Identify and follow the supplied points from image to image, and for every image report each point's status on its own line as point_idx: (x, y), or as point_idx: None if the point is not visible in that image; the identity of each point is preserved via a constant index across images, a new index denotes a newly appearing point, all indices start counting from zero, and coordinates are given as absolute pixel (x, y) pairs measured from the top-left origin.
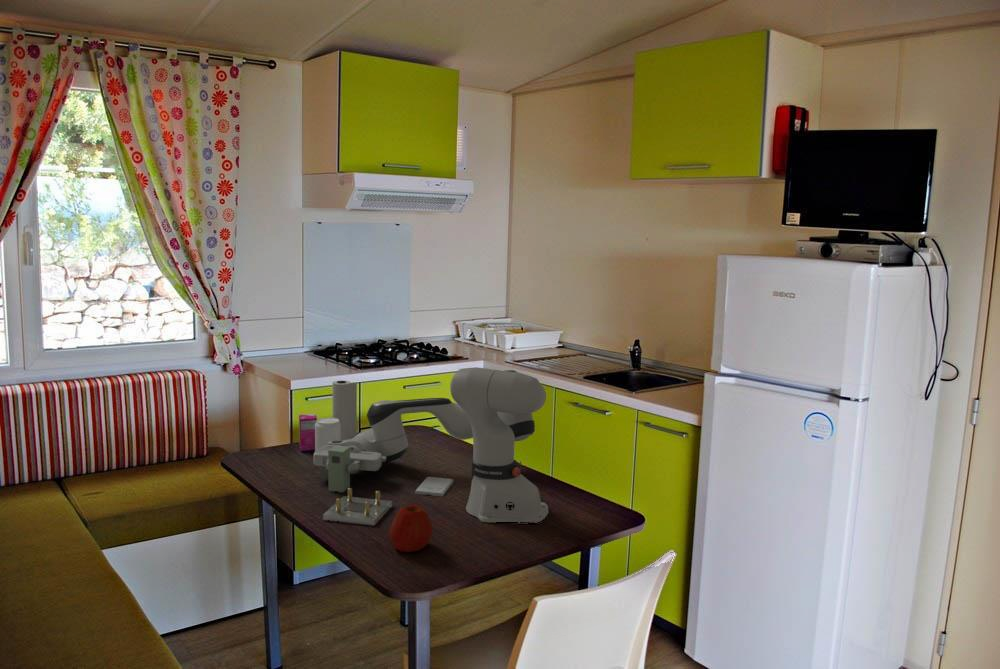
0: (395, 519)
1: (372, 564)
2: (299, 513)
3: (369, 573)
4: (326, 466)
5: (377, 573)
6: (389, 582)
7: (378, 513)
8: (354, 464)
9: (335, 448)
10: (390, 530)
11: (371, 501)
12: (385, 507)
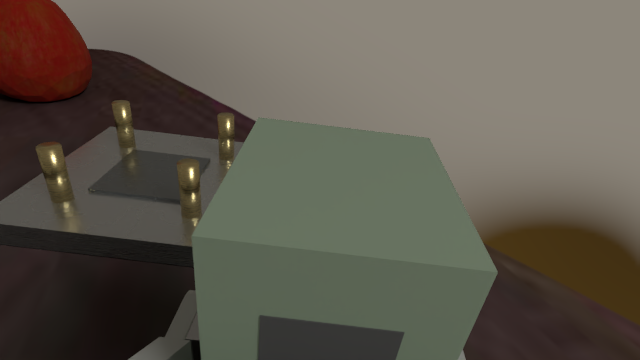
0: (71, 22)
1: (142, 74)
2: None
3: (150, 66)
4: None
5: (137, 65)
6: (122, 57)
7: (84, 149)
8: (142, 358)
9: (395, 175)
10: (88, 52)
11: (87, 213)
12: (38, 177)
